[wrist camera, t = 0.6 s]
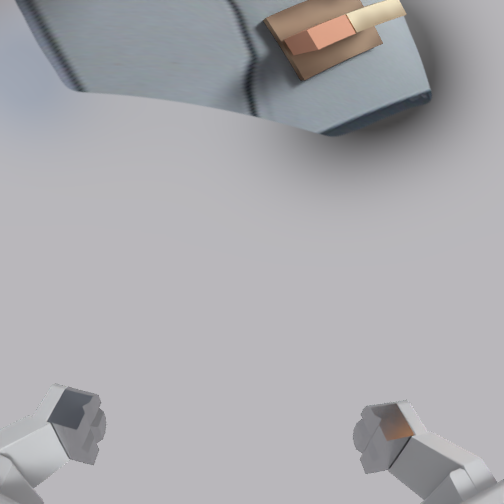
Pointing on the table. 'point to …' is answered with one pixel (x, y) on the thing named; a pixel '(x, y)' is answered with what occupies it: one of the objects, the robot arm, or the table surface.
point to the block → (320, 35)
